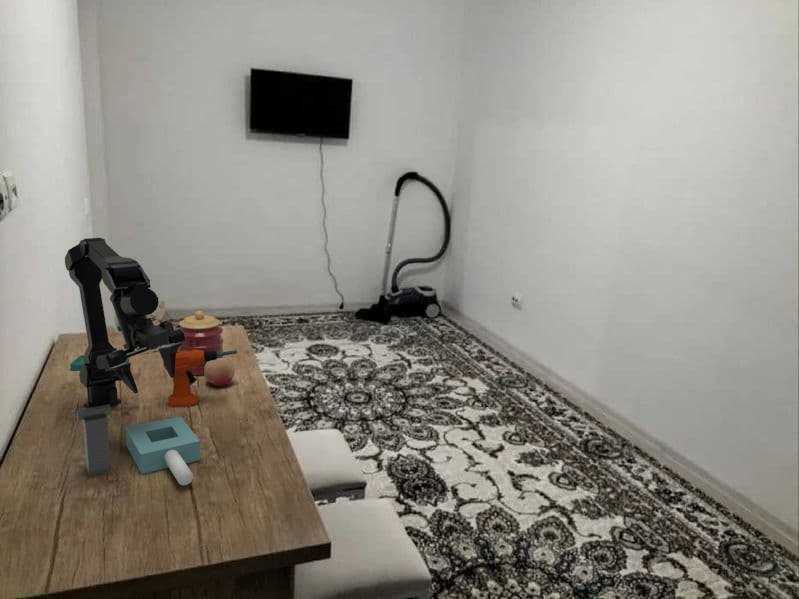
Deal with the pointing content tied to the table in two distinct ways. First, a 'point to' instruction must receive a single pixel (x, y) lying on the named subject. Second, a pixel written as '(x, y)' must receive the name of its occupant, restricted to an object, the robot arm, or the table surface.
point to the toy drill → (189, 375)
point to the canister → (201, 336)
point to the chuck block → (164, 447)
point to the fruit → (219, 371)
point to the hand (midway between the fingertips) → (155, 385)
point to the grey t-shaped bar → (96, 438)
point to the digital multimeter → (81, 363)
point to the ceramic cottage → (158, 320)
